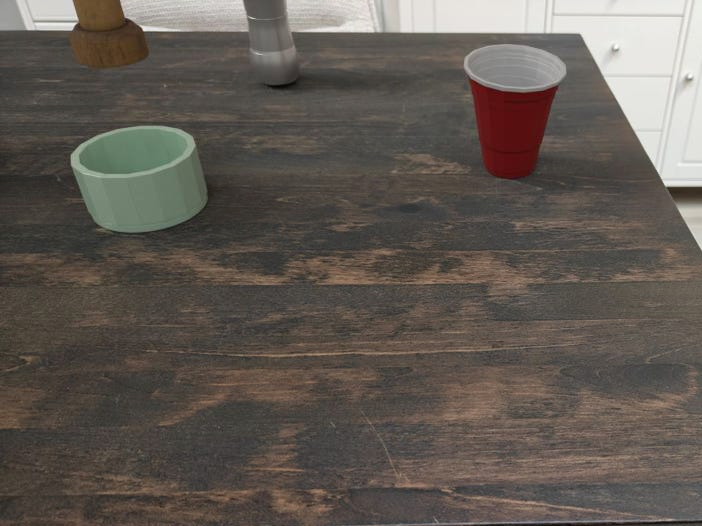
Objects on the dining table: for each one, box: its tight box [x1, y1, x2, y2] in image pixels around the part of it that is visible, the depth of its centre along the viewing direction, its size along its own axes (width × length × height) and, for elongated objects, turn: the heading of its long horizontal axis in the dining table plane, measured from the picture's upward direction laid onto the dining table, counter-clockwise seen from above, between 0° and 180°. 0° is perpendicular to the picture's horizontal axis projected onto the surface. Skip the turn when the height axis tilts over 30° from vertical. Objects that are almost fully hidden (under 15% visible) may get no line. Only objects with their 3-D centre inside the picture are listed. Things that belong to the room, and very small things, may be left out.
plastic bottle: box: [242, 0, 301, 86], centre depth 97 cm, size 6×7×20 cm
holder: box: [70, 125, 209, 234], centre depth 76 cm, size 12×12×6 cm
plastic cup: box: [463, 43, 567, 179], centre depth 81 cm, size 11×11×12 cm
